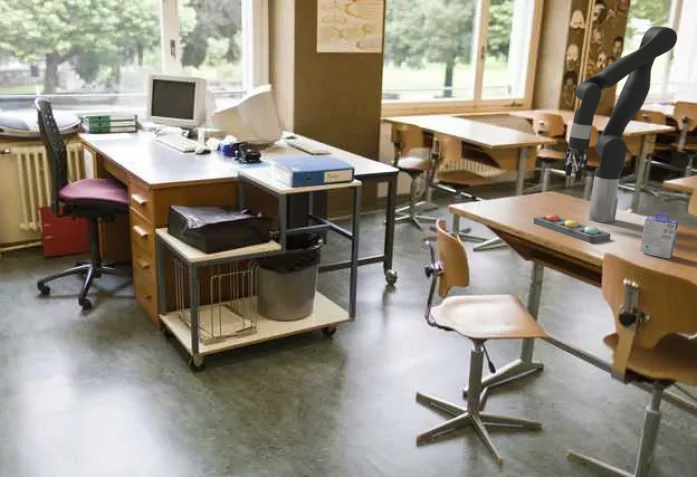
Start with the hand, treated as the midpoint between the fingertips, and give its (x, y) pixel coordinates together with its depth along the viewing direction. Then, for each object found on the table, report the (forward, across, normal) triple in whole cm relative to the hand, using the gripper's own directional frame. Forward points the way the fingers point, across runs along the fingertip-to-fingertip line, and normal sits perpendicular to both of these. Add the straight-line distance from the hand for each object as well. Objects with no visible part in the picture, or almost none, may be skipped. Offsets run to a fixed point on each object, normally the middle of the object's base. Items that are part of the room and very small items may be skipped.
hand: (572, 178), depth 265 cm
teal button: (+15, -26, +2) cm, 30 cm away
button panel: (+17, -18, +6) cm, 25 cm away
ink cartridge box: (+16, -42, -14) cm, 47 cm away
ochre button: (+15, -17, +6) cm, 24 cm away
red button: (+15, -9, +9) cm, 20 cm away
